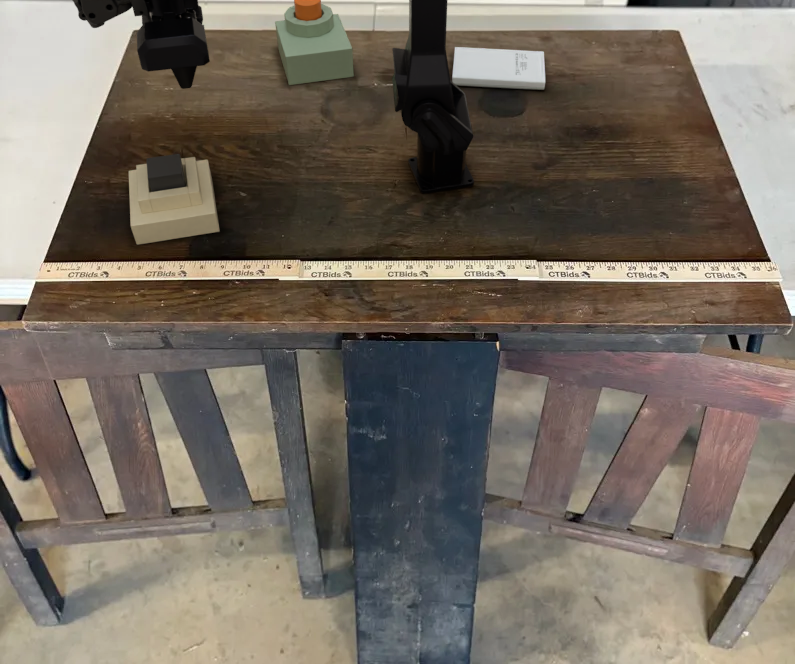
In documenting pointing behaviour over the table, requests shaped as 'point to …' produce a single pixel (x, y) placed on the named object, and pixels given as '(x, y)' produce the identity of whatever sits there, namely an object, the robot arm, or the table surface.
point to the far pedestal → (314, 48)
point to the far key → (308, 9)
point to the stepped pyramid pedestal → (173, 205)
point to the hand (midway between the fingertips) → (186, 86)
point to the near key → (165, 172)
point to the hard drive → (499, 68)
